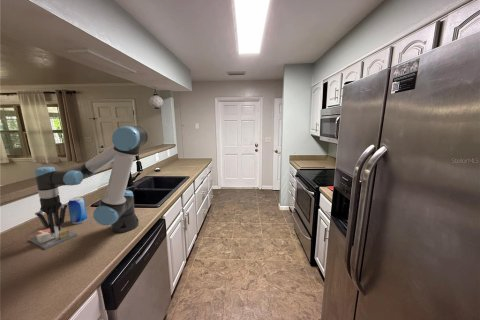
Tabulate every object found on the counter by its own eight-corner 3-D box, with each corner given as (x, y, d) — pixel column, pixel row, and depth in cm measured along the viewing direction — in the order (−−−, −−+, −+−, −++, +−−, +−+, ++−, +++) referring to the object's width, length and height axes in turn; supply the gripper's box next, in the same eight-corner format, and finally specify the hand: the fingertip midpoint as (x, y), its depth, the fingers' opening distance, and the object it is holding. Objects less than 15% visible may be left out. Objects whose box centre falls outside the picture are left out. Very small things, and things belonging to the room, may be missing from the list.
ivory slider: (51, 239, 108) (50, 233, 107) (41, 243, 104) (40, 237, 104) (47, 237, 110) (46, 231, 109) (37, 241, 106) (36, 235, 105)
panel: (77, 235, 113) (76, 232, 113) (45, 249, 101) (44, 245, 101) (60, 228, 121) (60, 225, 121) (29, 240, 108) (28, 236, 108)
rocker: (59, 231, 115) (59, 229, 115) (41, 235, 108) (41, 233, 108) (54, 229, 117) (55, 227, 117) (36, 233, 110) (36, 230, 110)
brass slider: (69, 235, 111) (68, 230, 111) (60, 239, 108) (59, 233, 107) (65, 234, 113) (64, 228, 112) (57, 237, 109) (56, 231, 109)
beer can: (90, 218, 134) (87, 196, 131) (79, 225, 125) (75, 201, 122) (79, 218, 134) (75, 195, 131) (67, 224, 126) (63, 200, 123)
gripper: (61, 191, 111) (67, 229, 115) (29, 199, 99) (37, 241, 103) (68, 193, 108) (74, 233, 112) (36, 201, 96) (44, 245, 100)
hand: (56, 237), depth 108 cm, fingers closed
